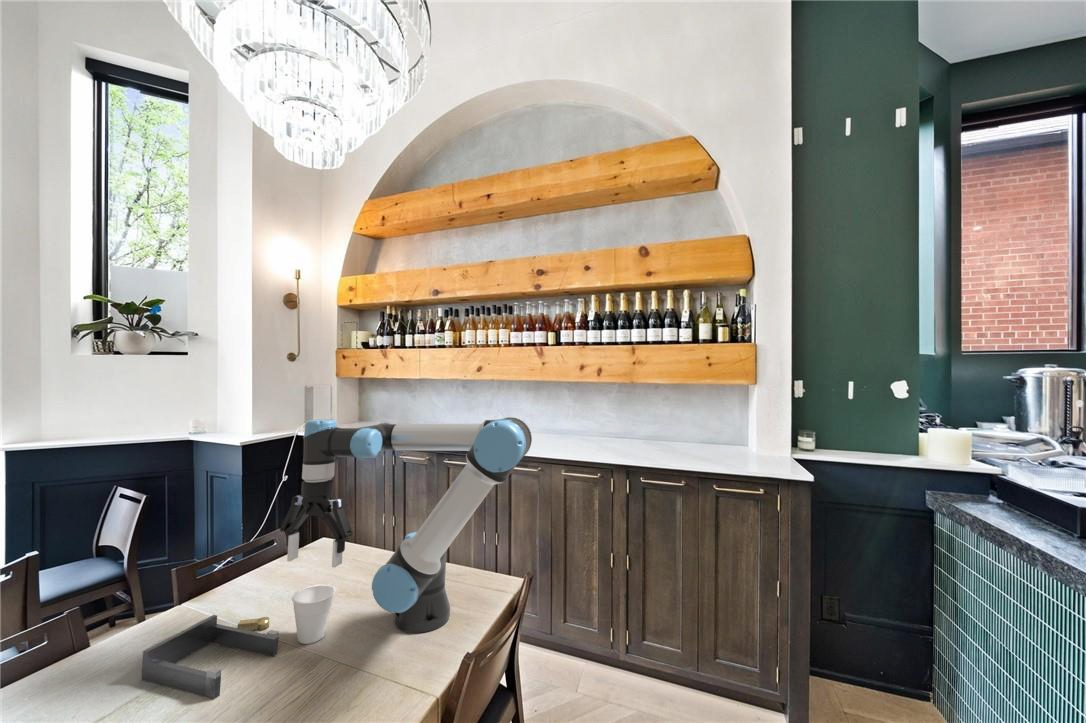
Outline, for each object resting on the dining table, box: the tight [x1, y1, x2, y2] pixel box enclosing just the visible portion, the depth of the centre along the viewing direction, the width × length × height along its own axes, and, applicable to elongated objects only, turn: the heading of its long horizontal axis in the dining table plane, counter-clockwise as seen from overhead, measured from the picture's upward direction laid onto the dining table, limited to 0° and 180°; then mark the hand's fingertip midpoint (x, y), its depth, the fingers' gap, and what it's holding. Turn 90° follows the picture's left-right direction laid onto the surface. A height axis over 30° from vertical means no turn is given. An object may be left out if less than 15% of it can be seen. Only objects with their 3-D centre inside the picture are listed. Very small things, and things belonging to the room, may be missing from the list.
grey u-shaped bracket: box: [140, 614, 280, 700], centre depth 97 cm, size 20×15×6 cm
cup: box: [291, 584, 336, 645], centre depth 109 cm, size 10×10×11 cm
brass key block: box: [236, 616, 270, 632], centre depth 112 cm, size 7×3×2 cm, turn 106°
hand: (314, 562), depth 110 cm, fingers open, 13 cm apart
